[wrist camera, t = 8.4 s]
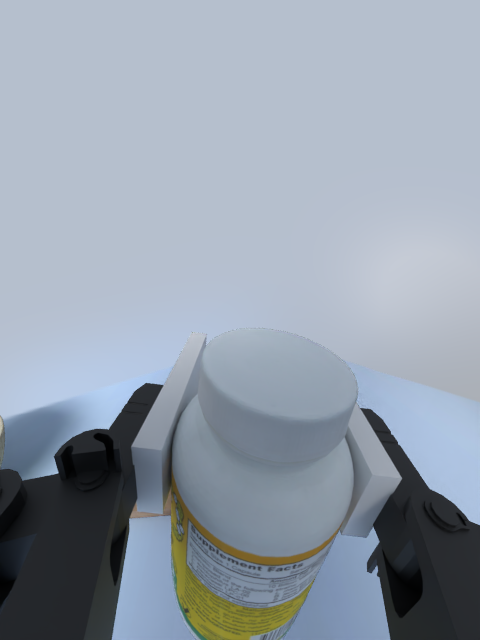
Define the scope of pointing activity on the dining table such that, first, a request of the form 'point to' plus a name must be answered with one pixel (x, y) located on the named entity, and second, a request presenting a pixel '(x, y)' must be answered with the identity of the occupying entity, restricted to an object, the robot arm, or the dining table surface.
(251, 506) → the supplement bottle
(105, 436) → the robot arm
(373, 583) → the dining table surface
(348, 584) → the dining table surface
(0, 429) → the beige bowl
